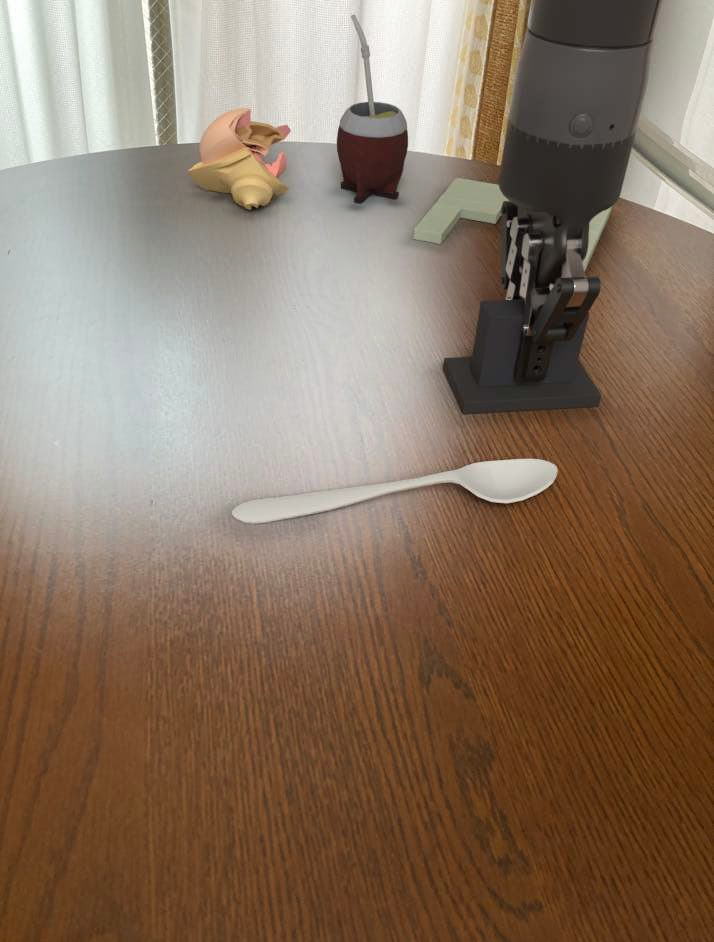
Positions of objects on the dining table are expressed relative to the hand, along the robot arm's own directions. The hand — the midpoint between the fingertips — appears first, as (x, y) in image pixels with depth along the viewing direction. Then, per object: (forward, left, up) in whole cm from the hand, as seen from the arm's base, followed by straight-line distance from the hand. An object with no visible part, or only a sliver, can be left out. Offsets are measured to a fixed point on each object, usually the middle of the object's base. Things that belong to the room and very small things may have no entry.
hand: (522, 367), depth 66 cm
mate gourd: (+23, -30, -2) cm, 38 cm away
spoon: (+4, +16, -2) cm, 17 cm away
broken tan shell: (+34, -23, -2) cm, 41 cm away
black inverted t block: (0, 0, -2) cm, 2 cm away
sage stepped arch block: (+7, -28, -2) cm, 29 cm away
